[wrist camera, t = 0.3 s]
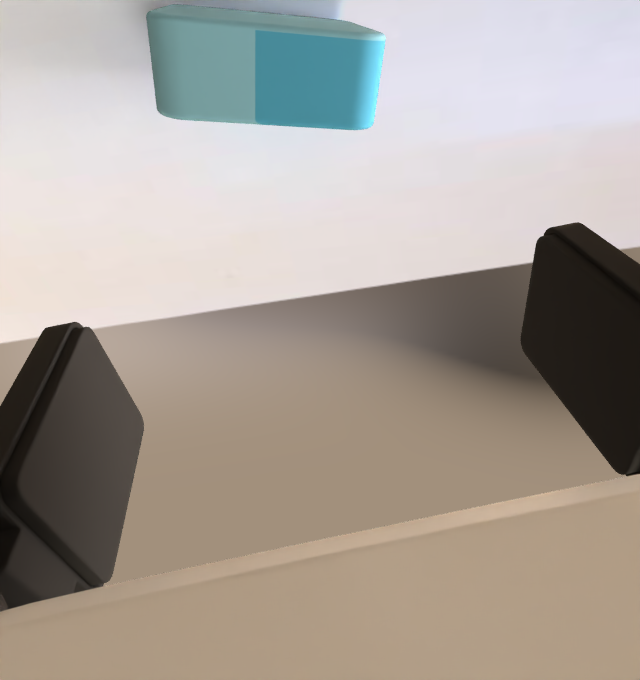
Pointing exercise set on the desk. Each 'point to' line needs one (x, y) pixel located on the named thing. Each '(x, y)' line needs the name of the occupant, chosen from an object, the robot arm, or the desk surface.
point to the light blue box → (264, 68)
